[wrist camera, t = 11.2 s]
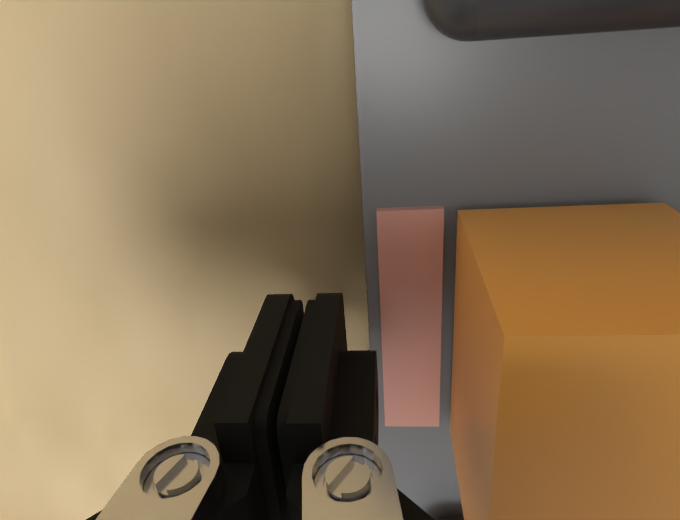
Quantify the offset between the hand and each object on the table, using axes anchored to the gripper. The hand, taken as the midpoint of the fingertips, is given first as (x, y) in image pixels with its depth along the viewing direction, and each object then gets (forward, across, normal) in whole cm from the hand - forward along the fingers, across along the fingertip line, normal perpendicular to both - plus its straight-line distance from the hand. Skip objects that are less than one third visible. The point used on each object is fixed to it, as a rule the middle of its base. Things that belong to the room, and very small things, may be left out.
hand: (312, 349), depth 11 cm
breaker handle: (+1, -5, 0) cm, 5 cm away
